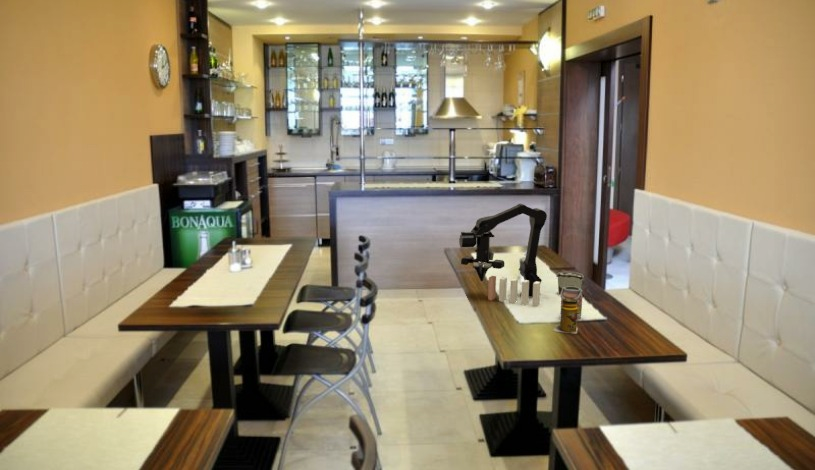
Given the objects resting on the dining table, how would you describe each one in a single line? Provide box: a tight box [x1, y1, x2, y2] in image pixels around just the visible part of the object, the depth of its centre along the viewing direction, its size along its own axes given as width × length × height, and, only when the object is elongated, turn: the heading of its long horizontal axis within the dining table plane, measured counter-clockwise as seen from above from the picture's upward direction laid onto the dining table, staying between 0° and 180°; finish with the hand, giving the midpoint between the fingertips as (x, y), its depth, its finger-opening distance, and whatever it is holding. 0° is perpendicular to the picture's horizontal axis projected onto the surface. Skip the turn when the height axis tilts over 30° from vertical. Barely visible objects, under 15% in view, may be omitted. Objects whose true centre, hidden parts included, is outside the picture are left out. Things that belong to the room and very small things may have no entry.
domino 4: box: [520, 279, 529, 306], centre depth 267 cm, size 2×4×10 cm, turn 152°
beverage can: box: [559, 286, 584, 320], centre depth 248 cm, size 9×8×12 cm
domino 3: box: [509, 278, 519, 304], centre depth 269 cm, size 2×4×10 cm, turn 152°
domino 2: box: [498, 276, 508, 303], centre depth 272 cm, size 2×4×10 cm, turn 152°
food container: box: [556, 271, 585, 296], centre depth 283 cm, size 12×6×10 cm, turn 65°
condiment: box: [553, 298, 578, 334], centre depth 233 cm, size 7×8×12 cm
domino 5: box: [532, 281, 541, 308], centre depth 265 cm, size 2×4×10 cm, turn 152°
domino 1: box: [487, 275, 497, 301], centre depth 274 cm, size 2×4×10 cm, turn 152°
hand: (481, 281), depth 276 cm, fingers closed
